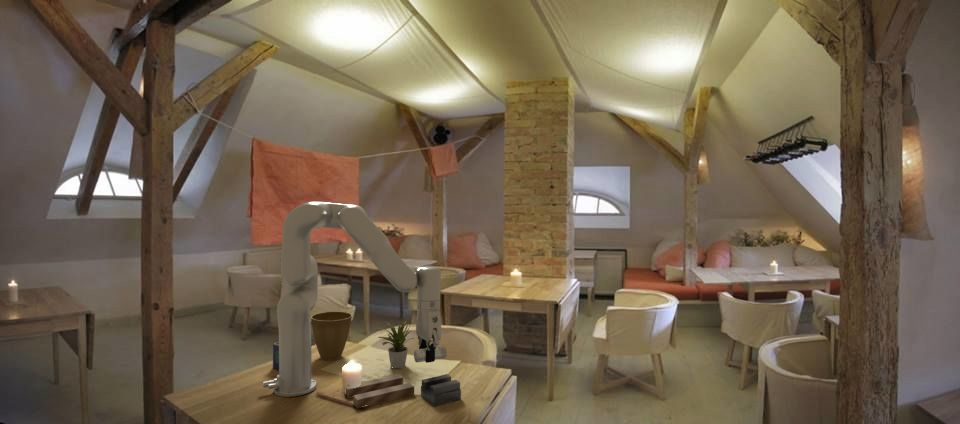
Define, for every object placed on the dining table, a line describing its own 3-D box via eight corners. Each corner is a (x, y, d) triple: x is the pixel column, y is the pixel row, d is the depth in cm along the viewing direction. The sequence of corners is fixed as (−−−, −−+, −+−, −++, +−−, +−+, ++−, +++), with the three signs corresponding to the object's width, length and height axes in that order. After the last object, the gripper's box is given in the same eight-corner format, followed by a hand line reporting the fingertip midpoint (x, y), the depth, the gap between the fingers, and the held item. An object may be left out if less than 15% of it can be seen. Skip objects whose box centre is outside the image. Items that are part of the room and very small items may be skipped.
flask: (296, 370, 162) (296, 340, 162) (290, 373, 160) (290, 342, 159) (276, 366, 166) (276, 337, 166) (270, 369, 163) (269, 339, 163)
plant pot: (329, 366, 166) (329, 322, 165) (302, 359, 173) (302, 317, 173) (360, 355, 179) (360, 314, 178) (333, 348, 186) (333, 309, 186)
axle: (419, 360, 147) (417, 348, 149) (415, 364, 150) (413, 352, 152) (447, 356, 152) (444, 344, 154) (442, 359, 155) (440, 348, 157)
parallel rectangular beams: (357, 408, 133) (357, 399, 133) (344, 394, 143) (344, 385, 143) (414, 394, 143) (414, 386, 142) (398, 381, 153) (398, 374, 152)
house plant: (386, 357, 176) (386, 314, 176) (421, 359, 174) (421, 316, 174) (372, 370, 162) (372, 324, 162) (410, 373, 160) (410, 326, 160)
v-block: (434, 406, 135) (434, 389, 134) (420, 395, 142) (420, 379, 142) (460, 399, 140) (460, 382, 139) (446, 389, 147) (446, 373, 147)
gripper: (451, 308, 146) (449, 365, 147) (427, 298, 160) (425, 350, 161) (429, 311, 142) (427, 369, 143) (407, 300, 156) (405, 353, 157)
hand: (426, 359), depth 152 cm, fingers closed on axle, 4 cm apart
